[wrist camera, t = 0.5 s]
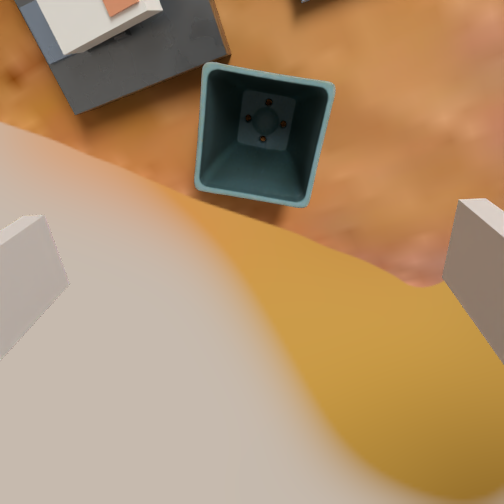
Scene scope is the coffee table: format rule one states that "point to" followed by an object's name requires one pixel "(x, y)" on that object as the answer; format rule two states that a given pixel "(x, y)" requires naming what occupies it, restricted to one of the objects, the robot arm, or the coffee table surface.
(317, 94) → the flower pot
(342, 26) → the coffee table surface
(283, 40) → the coffee table surface
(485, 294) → the robot arm
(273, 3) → the coffee table surface
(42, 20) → the breaker panel
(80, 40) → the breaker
